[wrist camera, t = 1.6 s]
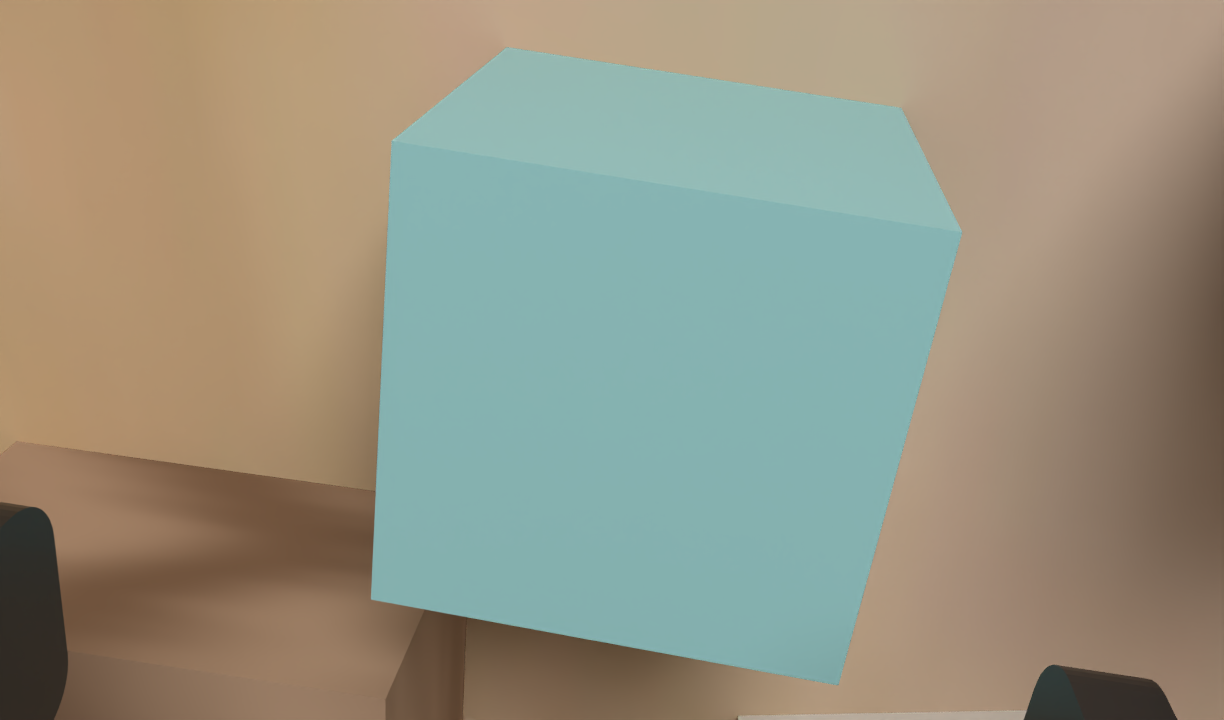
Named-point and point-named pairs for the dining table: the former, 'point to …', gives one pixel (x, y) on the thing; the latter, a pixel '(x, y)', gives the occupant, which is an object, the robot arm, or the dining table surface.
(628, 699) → the dining table surface
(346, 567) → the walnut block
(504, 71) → the teal cube
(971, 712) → the grey cube
